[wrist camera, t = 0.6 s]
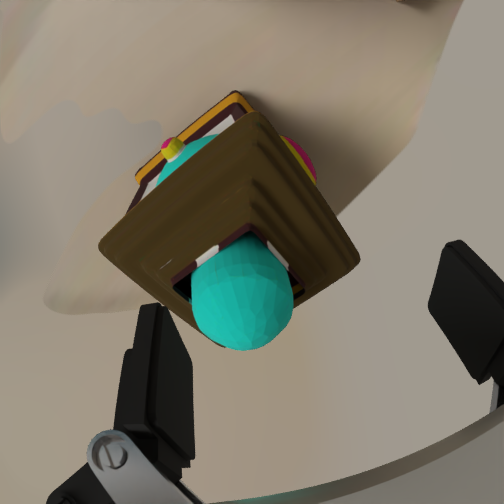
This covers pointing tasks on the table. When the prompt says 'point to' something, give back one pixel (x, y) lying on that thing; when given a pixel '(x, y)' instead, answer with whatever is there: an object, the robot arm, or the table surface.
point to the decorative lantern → (230, 228)
